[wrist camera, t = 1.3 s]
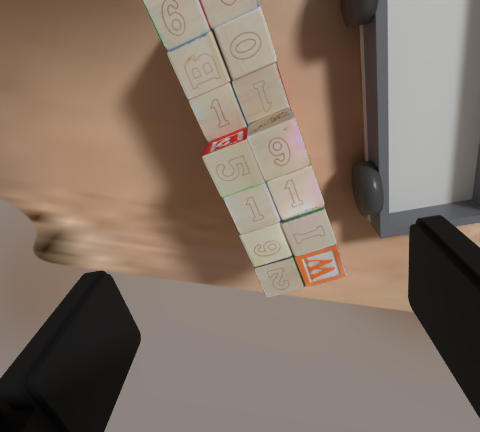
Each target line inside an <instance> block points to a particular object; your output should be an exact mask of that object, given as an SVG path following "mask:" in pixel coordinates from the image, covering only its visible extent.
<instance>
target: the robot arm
mask: <svg viewBox="0 0 480 432" xmlns="http://www.w3.org/2000/svg"><path fill="white" fill-rule="evenodd" d="M408 298H409V303H410V305H411V308H412V310H413V311H414V313H415V314H416V316H417V317H418V319H419V321H420V322H421V324H422V326H423V327H424V329H425V330H426V332H427V334H428V335H429V337H430V339H431V340H432V342H433V343H434V345H435V346H436V348H437V350H438V351H439V353H440V355H441V356H442V358H443V360H444V361H445V363H446V364H447V366H448V368H449V369H450V371H451V372H452V374H453V376H454V377H455V379H456V381H457V382H458V384H459V385H460V387H461V388H462V390H463V392H464V394H465V395H466V397H467V398H468V400H469V402H470V403H471V405H472V406H473V408H474V410H475V411H476V413H477V415H478V416H479V418H480V248H479V247H478V246H477V245H476V244H475V243H474V242H472V241H471V240H470V239H469V238H468V237H467V236H465V235H464V234H463V233H462V232H461V231H460V230H458V229H457V228H456V227H455V226H454V225H452V224H451V223H450V222H449V221H448V220H447V219H445V218H444V217H443V216H441V215H435V216H428V217H422V218H418V219H417V220H416V223H415V224H412V225H411V226H410V233H409V284H408ZM140 341H141V335H140V331H139V329H138V327H137V325H136V323H135V321H134V319H133V317H132V315H131V314H130V311H129V309H128V307H127V306H126V304H125V301H124V299H123V297H122V295H121V294H120V291H119V290H118V287H117V285H116V284H115V282H114V280H113V278H112V276H111V275H110V274H107V273H106V272H105V271H96V272H90V273H85V274H84V275H82V277H81V278H80V279H79V280H78V282H77V283H76V284H75V285H74V287H73V288H72V289H71V290H70V292H69V293H68V294H67V295H66V297H65V298H64V299H63V301H62V302H61V303H60V304H59V306H58V307H57V308H56V309H55V311H54V312H53V313H52V314H51V316H50V317H49V318H48V319H47V321H46V322H45V323H44V325H43V326H42V327H41V328H40V329H39V331H38V332H37V333H36V334H35V336H34V337H33V338H32V339H31V341H30V342H29V343H28V344H27V346H26V347H25V348H24V350H23V351H22V352H21V353H20V355H19V356H18V357H17V358H16V360H15V361H14V362H13V363H12V365H11V366H10V367H9V368H8V370H7V371H6V372H5V373H4V375H3V376H2V377H1V378H0V432H104V431H105V428H106V426H107V423H108V421H109V418H110V416H111V413H112V411H113V408H114V406H115V404H116V401H117V399H118V396H119V394H120V391H121V389H122V386H123V384H124V381H125V379H126V376H127V374H128V371H129V369H130V367H131V364H132V362H133V359H134V357H135V354H136V352H137V349H138V347H139V344H140Z"/></svg>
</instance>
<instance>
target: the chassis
mask: <svg viewBox="0 0 480 432" xmlns="http://www.w3.org/2000/svg"><path fill="white" fill-rule="evenodd" d="M340 4H341V10H342V15H343V19H344V22H345V24H346V26H347V27H348V28H352V27H356V26H359V28H360V52H361V75H362V98H363V121H364V145H365V162H361V163H355V164H354V165H353V167H352V187H353V193H354V198H355V202H356V205H357V207H358V210H359V212H360V213H361V215H363V216H365V215H368V220H369V221H370V223H371V224H372V226H373V227H374V229H375V230H376V232H377V233H378V235H379V236H380V238H384V237H391V236H397V235H403V234H409V233H410V226H411V225H412V224H415V223H416V220H417V219H418V218H422V217H428V216H435V215H441V216H443V217H444V218H445V219H447V220H448V221H449V222H450V223H451V224H452V225H454V226H461V225H467V224H473V223H480V0H340Z"/></svg>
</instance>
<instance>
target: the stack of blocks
mask: <svg viewBox="0 0 480 432" xmlns="http://www.w3.org/2000/svg"><path fill="white" fill-rule="evenodd" d="M143 2H144V4H145V7H146V9H147V11H148V13H149V15H150V17H151V19H152V22H153V24H154V26H155V28H156V30H157V33H158V35H159V37H160V39H161V41H162V43H163V45H164V47H165V48H166V50H167V56H168V58H169V60H170V62H171V65H172V67H173V69H174V71H175V73H176V76H177V78H178V80H179V82H180V84H181V86H182V88H183V91H184V93H185V95H186V97H187V99H188V101H189V104H190V107H191V109H192V111H193V113H194V115H195V117H196V120H197V122H198V124H199V126H200V128H201V130H202V132H203V134H204V136H205V138H206V140H207V141H208V142H209V143H208V144H207V145H206V148H205V150H204V152H203V154H202V159H203V161H204V163H205V165H206V167H207V169H208V172H209V174H210V176H211V178H212V180H213V182H214V184H215V186H216V188H217V190H218V192H219V194H220V196H221V197H222V198H223V200H224V202H225V204H226V207H227V209H228V211H229V213H230V215H231V217H232V219H233V221H234V223H235V226H236V228H237V230H238V232H239V237H240V239H241V242H242V244H243V246H244V248H245V250H246V252H247V254H248V256H249V259H250V261H251V263H252V265H253V266H254V271H255V273H256V275H257V277H258V279H259V282H260V284H261V286H262V288H263V291H264V293H265V295H266V296H267V297H272V296H276V295H280V294H284V293H288V292H292V291H296V290H300V289H304V286H306V287H309V286H314V285H318V284H321V283H325V282H329V281H332V280H336V279H339V278H342V277H345V276H346V272H345V269H344V266H343V263H342V260H341V257H340V253H339V250H338V247H337V245H336V239H335V236H334V233H333V230H332V227H331V224H330V221H329V219H328V216H327V213H326V210H325V208H324V205H325V202H324V199H323V196H322V193H321V190H320V187H319V184H318V181H317V178H316V175H315V172H314V170H313V167H312V165H311V163H310V159H309V156H308V153H307V150H306V147H305V144H304V141H303V138H302V135H301V132H300V130H299V127H298V124H297V120H296V118H295V116H294V114H293V112H292V110H291V109H290V104H289V101H288V98H287V95H286V92H285V88H284V85H283V82H282V79H281V76H280V72H279V69H278V66H277V56H276V53H275V50H274V46H273V43H272V40H271V36H270V33H269V30H268V27H267V24H266V21H265V17H264V14H263V11H262V8H261V7H260V6H259V5H258V4H257V0H143Z"/></svg>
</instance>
